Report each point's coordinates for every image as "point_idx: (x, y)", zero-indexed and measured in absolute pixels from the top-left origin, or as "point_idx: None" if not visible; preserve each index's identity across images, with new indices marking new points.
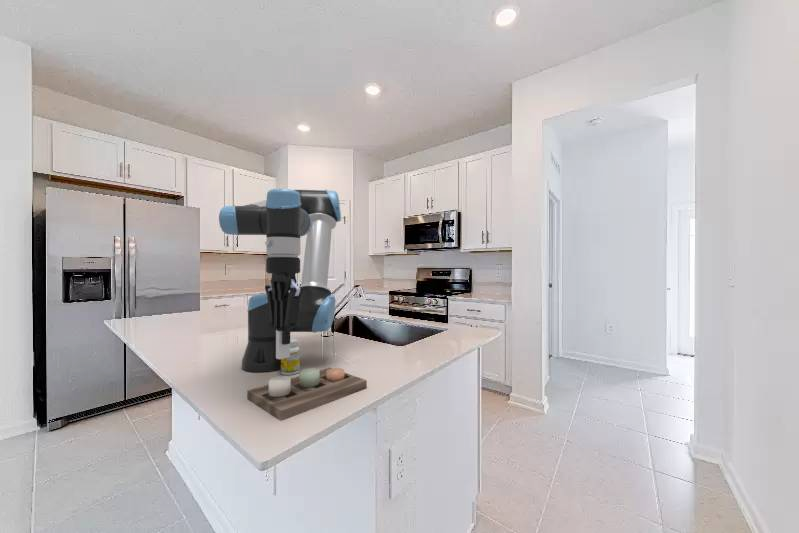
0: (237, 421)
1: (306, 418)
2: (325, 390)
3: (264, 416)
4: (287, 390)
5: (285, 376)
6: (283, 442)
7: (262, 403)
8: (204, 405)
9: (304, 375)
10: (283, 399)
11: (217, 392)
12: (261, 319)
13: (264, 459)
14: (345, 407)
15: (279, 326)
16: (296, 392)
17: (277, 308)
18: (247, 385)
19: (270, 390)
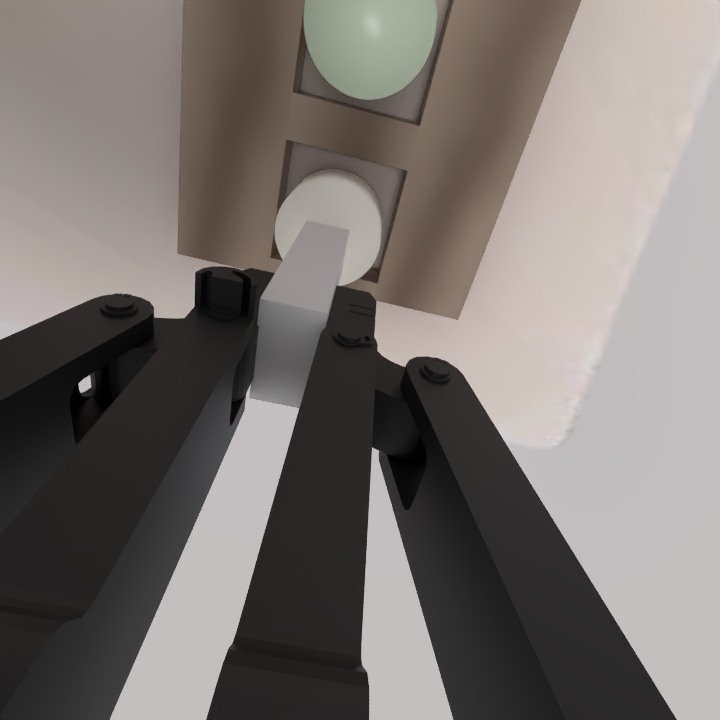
0: None
1: (529, 253)
2: (506, 49)
3: (379, 308)
4: (381, 221)
5: (312, 185)
6: (550, 383)
7: None
8: None
9: (382, 97)
10: (389, 244)
11: (29, 255)
12: None
13: (553, 442)
14: (645, 86)
15: (245, 388)
16: (383, 156)
17: (167, 578)
18: (24, 130)
19: None
